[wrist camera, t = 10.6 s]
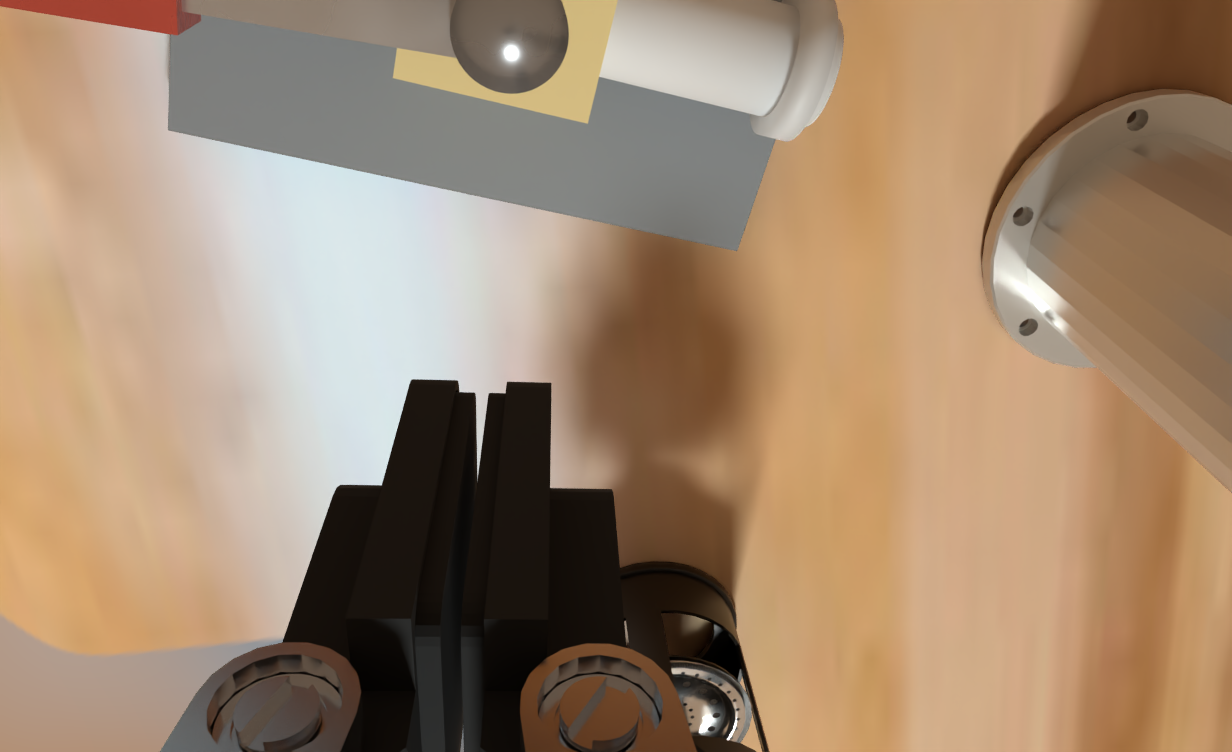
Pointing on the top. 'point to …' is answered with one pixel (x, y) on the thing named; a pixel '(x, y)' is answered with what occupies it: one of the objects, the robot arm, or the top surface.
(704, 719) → the french press
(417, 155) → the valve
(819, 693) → the top surface
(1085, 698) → the top surface
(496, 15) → the lever
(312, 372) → the top surface
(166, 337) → the top surface
